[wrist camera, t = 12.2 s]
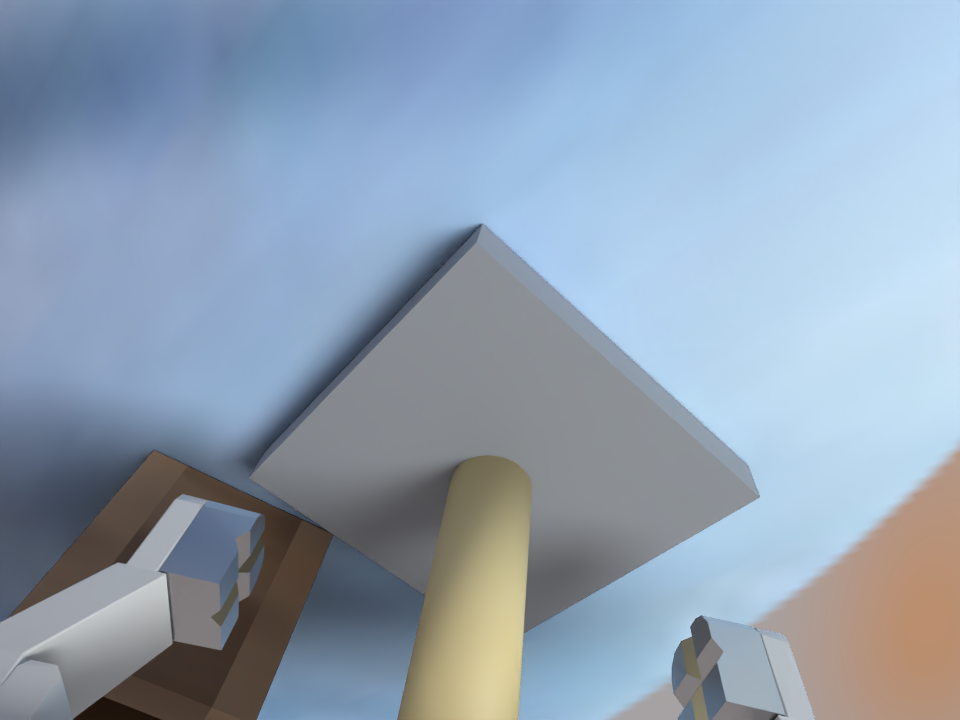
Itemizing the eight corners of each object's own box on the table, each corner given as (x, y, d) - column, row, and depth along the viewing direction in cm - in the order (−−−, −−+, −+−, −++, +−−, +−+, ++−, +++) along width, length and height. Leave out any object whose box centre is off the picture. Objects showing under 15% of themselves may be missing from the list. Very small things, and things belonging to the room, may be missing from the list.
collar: (261, 644, 20) (178, 827, 15) (107, 578, 19) (-26, 753, 15) (333, 534, 17) (254, 724, 12) (154, 449, 16) (3, 623, 12)
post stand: (503, 614, 18) (473, 939, 12) (265, 450, 15) (77, 748, 9) (747, 465, 14) (885, 827, 8) (482, 223, 12) (399, 474, 6)
